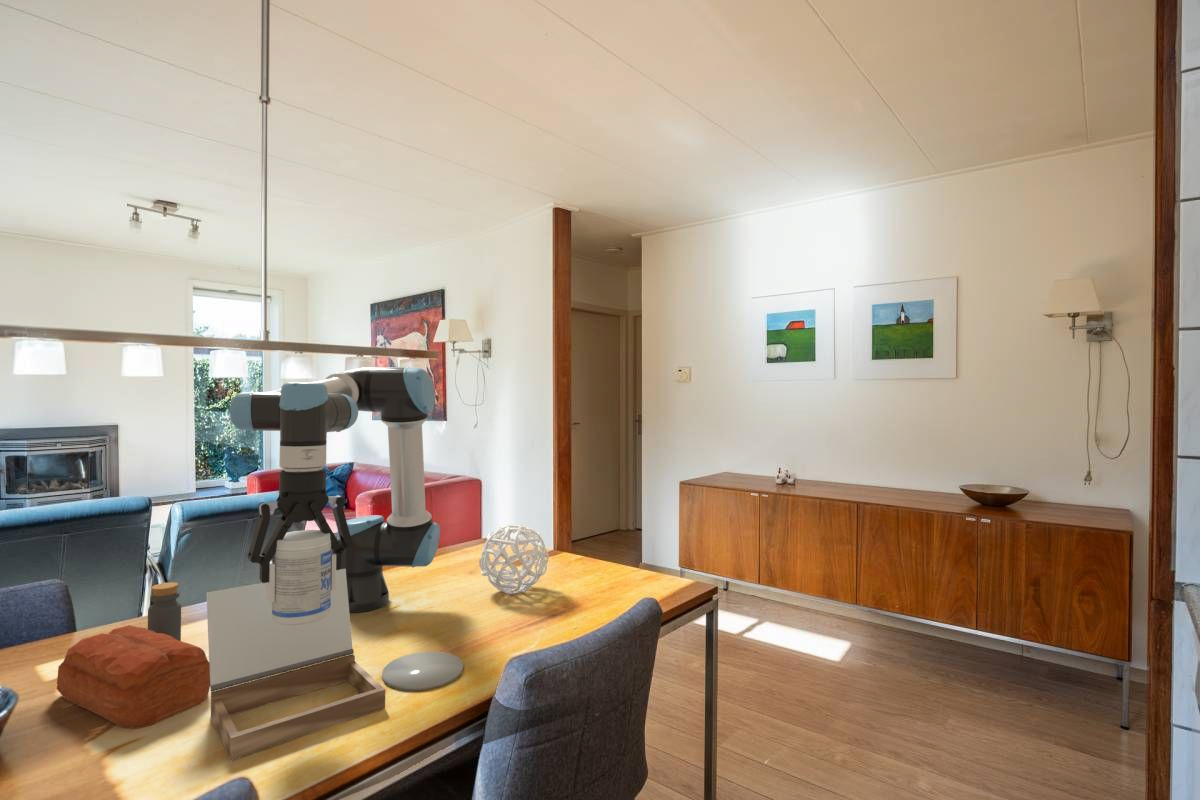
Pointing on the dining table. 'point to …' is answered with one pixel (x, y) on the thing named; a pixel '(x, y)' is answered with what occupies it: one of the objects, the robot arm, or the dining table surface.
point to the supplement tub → (302, 577)
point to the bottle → (165, 610)
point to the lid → (270, 635)
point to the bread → (134, 676)
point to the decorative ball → (513, 558)
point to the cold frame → (287, 687)
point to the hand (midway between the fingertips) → (301, 594)
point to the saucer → (422, 671)
